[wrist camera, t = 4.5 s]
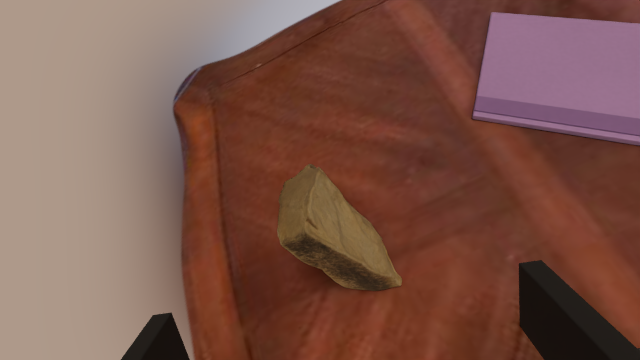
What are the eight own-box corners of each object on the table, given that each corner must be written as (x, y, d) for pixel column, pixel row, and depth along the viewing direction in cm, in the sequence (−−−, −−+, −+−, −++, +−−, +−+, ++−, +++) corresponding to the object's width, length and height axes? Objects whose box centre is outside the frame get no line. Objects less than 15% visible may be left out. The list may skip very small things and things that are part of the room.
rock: (260, 161, 29) (238, 279, 23) (306, 93, 22) (291, 234, 17) (367, 198, 33) (371, 306, 27) (432, 149, 26) (455, 278, 21)
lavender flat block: (471, 119, 30) (473, 114, 29) (490, 16, 35) (491, 10, 34) (732, 160, 25) (741, 156, 24) (711, 34, 30) (717, 28, 29)
